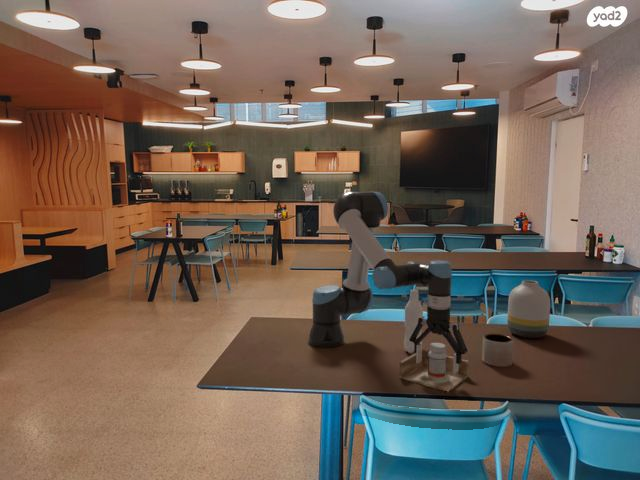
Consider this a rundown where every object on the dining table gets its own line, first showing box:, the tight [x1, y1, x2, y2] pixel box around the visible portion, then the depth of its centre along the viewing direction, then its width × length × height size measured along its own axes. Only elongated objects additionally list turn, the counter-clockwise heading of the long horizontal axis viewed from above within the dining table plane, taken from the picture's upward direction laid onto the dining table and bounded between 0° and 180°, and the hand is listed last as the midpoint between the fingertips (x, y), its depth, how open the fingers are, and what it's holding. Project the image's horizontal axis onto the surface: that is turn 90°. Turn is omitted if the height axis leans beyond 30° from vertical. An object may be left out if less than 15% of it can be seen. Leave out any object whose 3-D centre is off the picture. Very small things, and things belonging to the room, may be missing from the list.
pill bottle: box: [428, 342, 448, 380], centre depth 162 cm, size 6×6×11 cm
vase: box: [507, 279, 551, 339], centre depth 209 cm, size 17×17×24 cm
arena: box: [399, 348, 470, 393], centre depth 164 cm, size 18×16×6 cm
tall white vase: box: [403, 289, 424, 354], centre depth 188 cm, size 7×7×25 cm
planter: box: [481, 332, 515, 368], centre depth 177 cm, size 11×11×10 cm
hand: (436, 367), depth 162 cm, fingers open, 13 cm apart
